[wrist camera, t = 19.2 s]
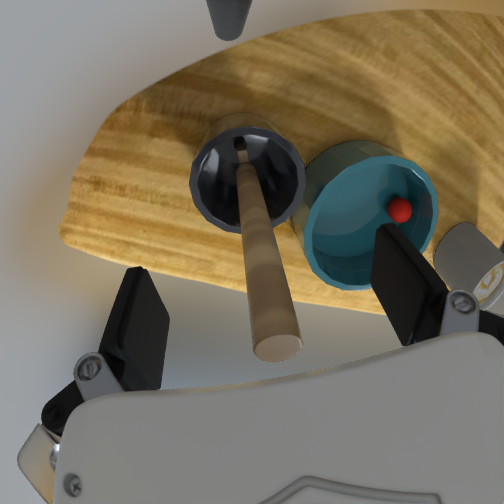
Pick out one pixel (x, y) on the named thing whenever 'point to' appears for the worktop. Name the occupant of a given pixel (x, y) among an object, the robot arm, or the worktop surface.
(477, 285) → the coffee mug
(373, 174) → the bowl
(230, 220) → the crock
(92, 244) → the worktop surface
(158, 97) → the worktop surface
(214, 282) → the worktop surface
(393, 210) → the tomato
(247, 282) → the paddle
